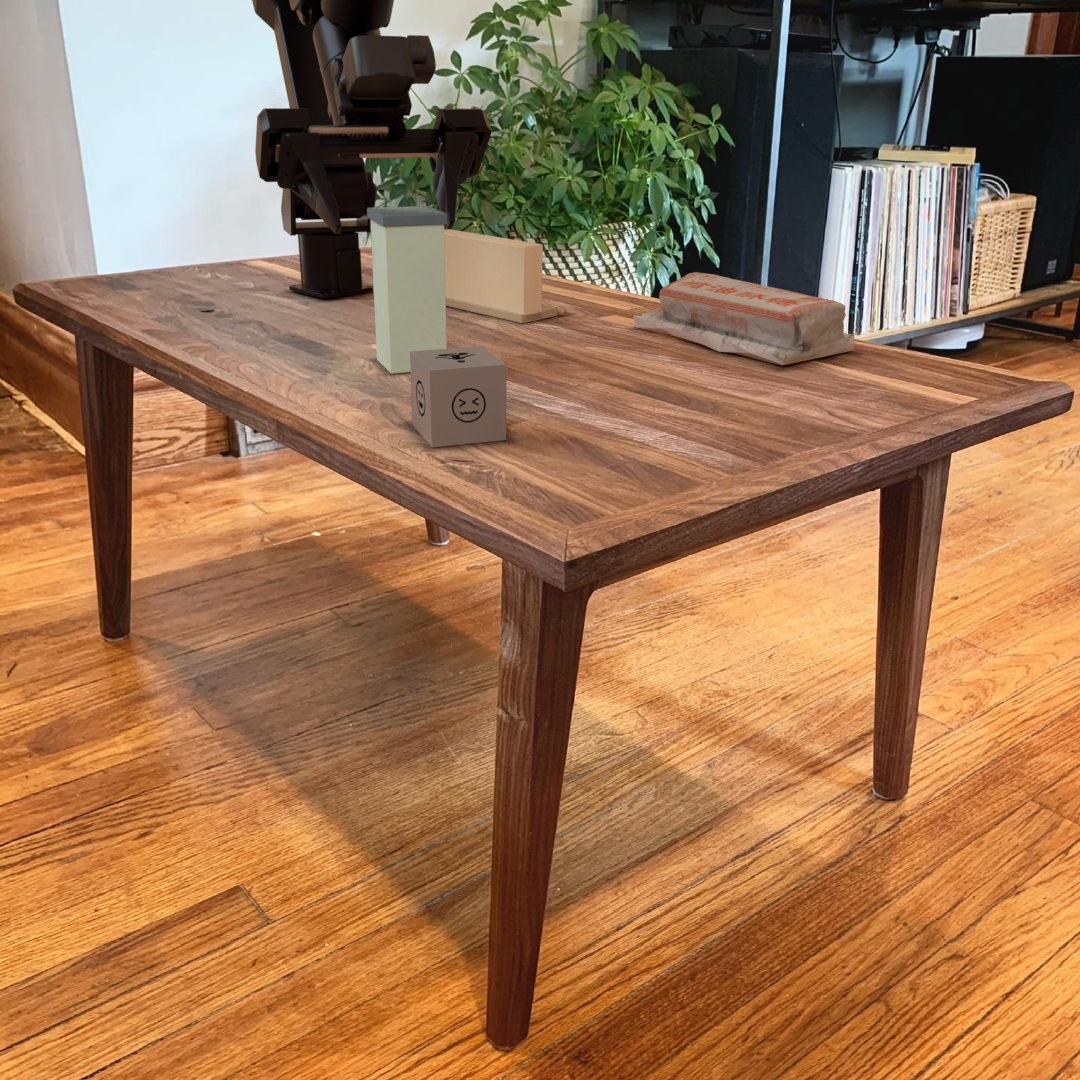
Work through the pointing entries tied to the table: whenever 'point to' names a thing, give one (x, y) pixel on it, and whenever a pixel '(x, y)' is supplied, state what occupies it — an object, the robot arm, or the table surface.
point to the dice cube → (458, 396)
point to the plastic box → (408, 282)
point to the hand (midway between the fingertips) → (395, 228)
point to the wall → (495, 276)
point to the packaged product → (749, 319)
